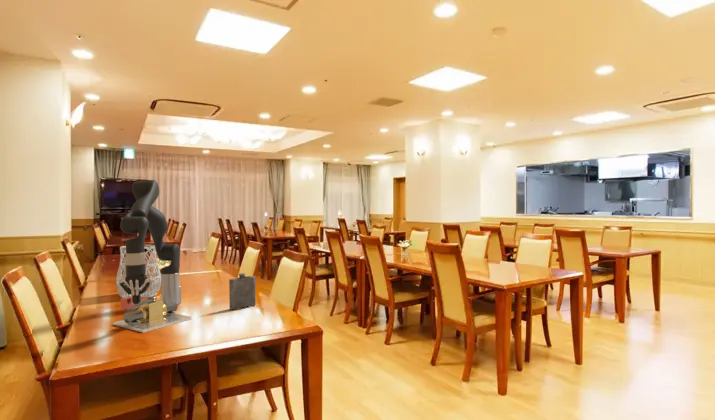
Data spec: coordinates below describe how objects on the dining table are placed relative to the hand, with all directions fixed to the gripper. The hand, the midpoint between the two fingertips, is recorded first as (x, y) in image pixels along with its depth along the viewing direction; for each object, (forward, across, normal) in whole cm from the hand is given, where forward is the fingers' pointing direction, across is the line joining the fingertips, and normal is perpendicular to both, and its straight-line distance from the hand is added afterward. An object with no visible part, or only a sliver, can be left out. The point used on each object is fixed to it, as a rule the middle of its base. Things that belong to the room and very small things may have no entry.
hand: (136, 303), depth 178 cm
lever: (+2, +2, -8) cm, 9 cm away
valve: (+12, +1, -17) cm, 21 cm away
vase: (+12, +34, -78) cm, 86 cm away
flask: (+13, -36, -41) cm, 56 cm away
